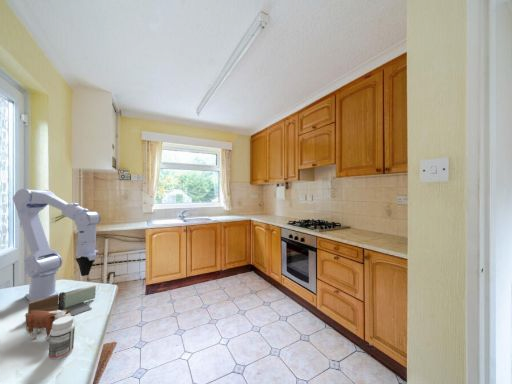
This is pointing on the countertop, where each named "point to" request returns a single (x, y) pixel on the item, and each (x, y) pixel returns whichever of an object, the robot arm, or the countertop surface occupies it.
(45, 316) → the bull figurine
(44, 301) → the fence section
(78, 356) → the countertop surface
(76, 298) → the fence gate
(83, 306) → the board
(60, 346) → the pill bottle
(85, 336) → the countertop surface
